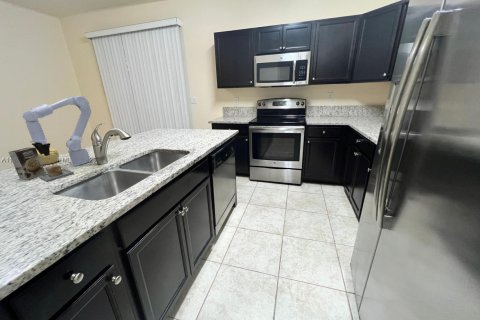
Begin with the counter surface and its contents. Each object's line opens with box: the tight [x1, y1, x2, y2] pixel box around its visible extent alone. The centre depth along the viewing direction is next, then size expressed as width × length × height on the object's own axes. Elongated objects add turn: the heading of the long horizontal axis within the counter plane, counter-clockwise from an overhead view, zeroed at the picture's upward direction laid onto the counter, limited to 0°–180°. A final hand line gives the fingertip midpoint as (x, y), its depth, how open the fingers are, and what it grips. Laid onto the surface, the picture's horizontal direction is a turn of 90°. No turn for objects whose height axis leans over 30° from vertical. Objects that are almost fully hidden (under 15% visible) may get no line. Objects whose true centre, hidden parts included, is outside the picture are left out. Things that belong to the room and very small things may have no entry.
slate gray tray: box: [38, 168, 75, 183], centre depth 114 cm, size 12×12×1 cm
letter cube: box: [44, 163, 63, 177], centre depth 113 cm, size 5×5×5 cm
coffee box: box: [8, 147, 47, 181], centre depth 112 cm, size 9×6×16 cm
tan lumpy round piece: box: [37, 147, 60, 166], centre depth 136 cm, size 12×12×11 cm
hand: (45, 154), depth 120 cm, fingers open, 7 cm apart
